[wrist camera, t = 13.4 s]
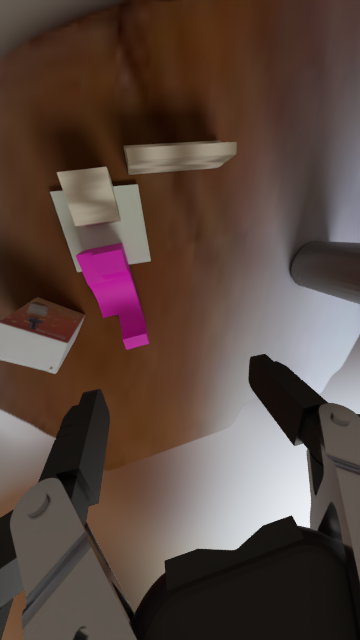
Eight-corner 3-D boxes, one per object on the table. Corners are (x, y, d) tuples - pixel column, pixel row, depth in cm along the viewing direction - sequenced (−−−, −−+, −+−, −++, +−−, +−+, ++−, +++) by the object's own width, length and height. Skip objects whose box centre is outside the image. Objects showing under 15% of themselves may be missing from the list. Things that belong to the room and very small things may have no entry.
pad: (137, 185, 29) (137, 184, 28) (150, 260, 34) (150, 261, 33) (52, 192, 27) (49, 191, 27) (78, 271, 32) (77, 272, 31)
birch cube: (121, 221, 30) (110, 176, 27) (119, 219, 25) (105, 164, 22) (84, 227, 29) (69, 181, 27) (75, 226, 24) (55, 170, 22)
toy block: (82, 250, 30) (69, 259, 24) (122, 242, 31) (120, 249, 24) (113, 330, 38) (111, 353, 31) (145, 322, 38) (149, 343, 32)
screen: (217, 143, 29) (236, 123, 24) (218, 167, 31) (236, 153, 25) (123, 148, 27) (121, 127, 22) (128, 174, 28) (128, 161, 23)
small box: (86, 314, 35) (70, 343, 26) (75, 339, 37) (56, 375, 27) (36, 295, 32) (-3, 321, 23) (27, 323, 34) (-14, 358, 24)
